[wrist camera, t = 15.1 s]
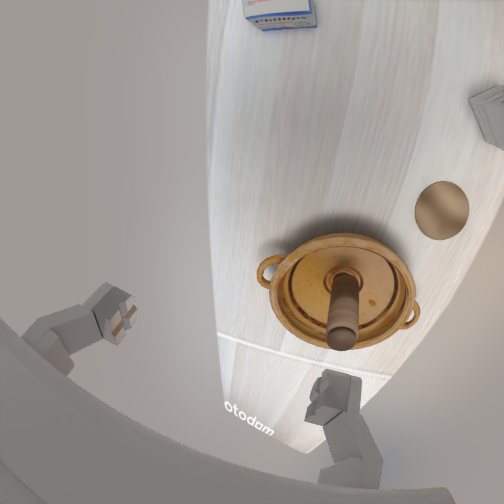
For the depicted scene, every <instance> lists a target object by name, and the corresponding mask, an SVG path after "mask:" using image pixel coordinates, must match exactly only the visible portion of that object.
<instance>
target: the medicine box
mask: <svg viewBox="0 0 504 504" xmlns="http://www.w3.org/2000/svg"><path fill="white" fill-rule="evenodd" d="M242 3H243V11H244V17H245V18H246V19H247V20H248V21H250V22H251V23H253V24H254V25H256V26H257V27H258V28H260V29H261V30H262V31H266V30H276V29H288V28H305V27H317V23H316V15H315V6H314V2H313V0H242Z"/></svg>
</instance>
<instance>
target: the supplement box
mask: <svg viewBox="0 0 504 504" xmlns="http://www.w3.org/2000/svg"><path fill="white" fill-rule="evenodd" d="M468 100H469V102H470V104H471V107H472V109H473V111H474V113H475V116H476V118H477V120H478V123H479V125H480V128H481V130H482V133H483V135H484V138H485V141H486V142H488V143H490V144H492V145H494V146H496V147H498V148H500V149H502V150H504V85H497V86H495V87H493V88H491V89H489V90H486V91H484V92H482V93H480V94H478V95H476V96H474V97H472V98H469V99H468Z"/></svg>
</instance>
